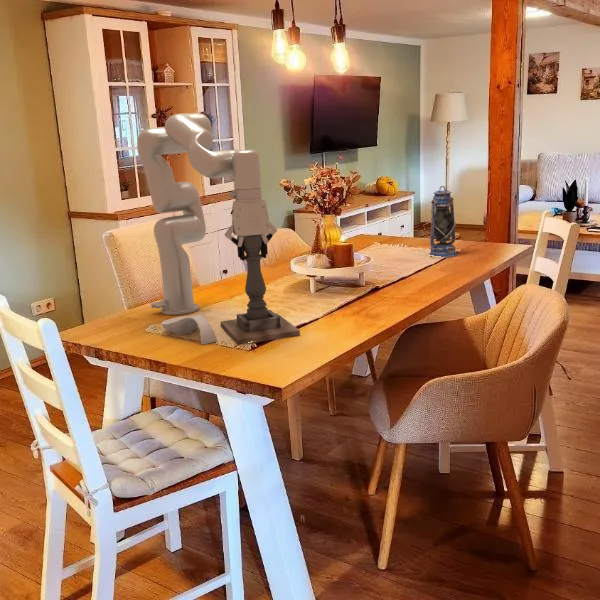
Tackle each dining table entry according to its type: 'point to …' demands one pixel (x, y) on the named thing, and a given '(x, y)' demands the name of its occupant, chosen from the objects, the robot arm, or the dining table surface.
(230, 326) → the socket board
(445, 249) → the lantern
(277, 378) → the dining table surface
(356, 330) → the dining table surface
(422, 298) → the dining table surface
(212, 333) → the spoon rest
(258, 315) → the candle holder
